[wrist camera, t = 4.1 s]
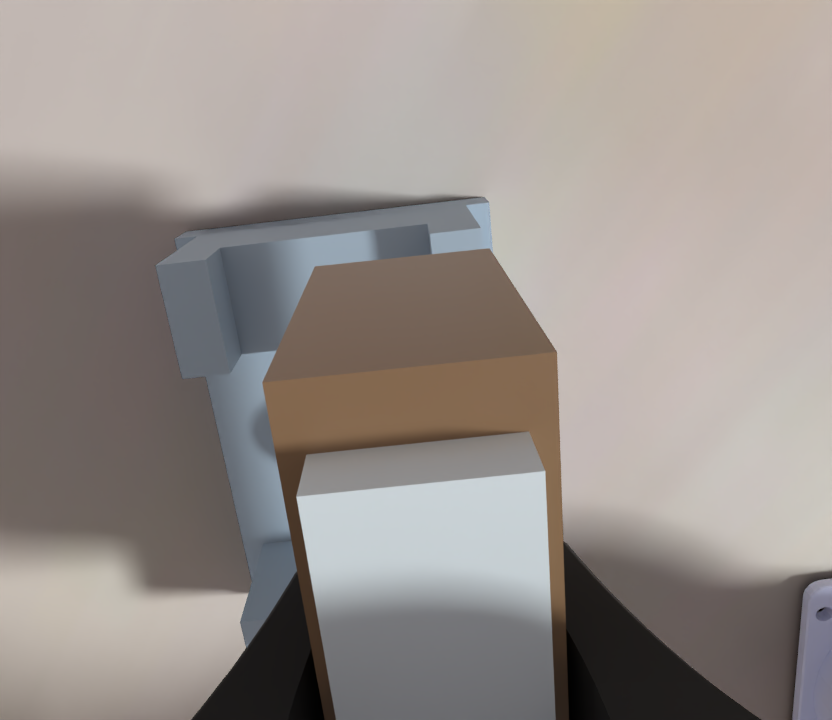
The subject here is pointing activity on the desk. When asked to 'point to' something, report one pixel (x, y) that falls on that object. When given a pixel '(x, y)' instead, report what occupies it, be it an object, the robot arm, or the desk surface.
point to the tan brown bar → (424, 490)
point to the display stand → (278, 340)
